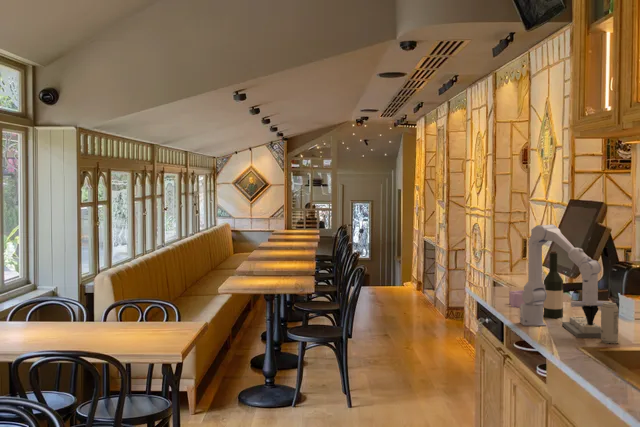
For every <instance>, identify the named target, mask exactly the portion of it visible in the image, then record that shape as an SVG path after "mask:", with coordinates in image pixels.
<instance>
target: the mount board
mask: <svg viewBox="0 0 640 427" xmlns="http://www.w3.org/2000/svg"><path fill="white" fill-rule="evenodd" d="M575 317H576V316H569V321H562V322H561V325H562V327H563V326H564V327H563V328H564V329H565V330H567V331H568V332H569V333H571V334H572V335H574V336H575V337H576V338H578V339H579V338H582V339H583V338H585V339H587V338H588V339H589V338H591V339H592V338H595V339H601V325H598V324H597V323H596V322H594V321H593V324H594V325H595V327H585V324H587V323H580V322H579V321H580V320H587V319H586V316H583V317H584V318H585V319H574V318H575Z"/></svg>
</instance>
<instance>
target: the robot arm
mask: <svg viewBox="0 0 640 427" xmlns="http://www.w3.org/2000/svg"><path fill="white" fill-rule="evenodd" d="M530 230H531V233H530V236H529V240H528V273H527V275H528V277H527V278H528V281H527V282H526V284H524V286H523V290H524V291H523V293H522V298H523V301H524V302H525V304H521V305H520V308H519V317H520V318H519V323H521V325H522V326H536V327H537V326H538V327H539V326H540V327H541V326H542V327H543V326H546V325H547V324H546V323H545V322H544V308H543V303H544V301H545V300H546V298H547V293H546V290H545V285H544V282H543V280H542V277H543V274H542V273H543V271H542V270H543V246H544V245H545V244H546V243H547V242H554V243H555V244H556V245H558V246H559V247H560V248H561V249H562V250H564V251H565V252H566V253H567V254H568V255H567V256H568V259H570V261H571V262H572V263H573V264H575V265H576V266H577V267H578V269H579V270H578V271H579V273H580V274H581V279H582V284H581V285H582V290H581V291H582V294H581V296H582V300H579V301H578V300H577V301H576V300H574V301H572V300H571V301H570V307H571V308H576V307H577V308H579V307H581V308H582V311H583V313H584V317H586V319H587V324H588V325H593V322H594V320H595V316H596V315H597V313H598V311H599V308H601V307H602V305H603V303H604V302H609V301H603V300H599V299H598V298H599V296H598V295H599V294H598V293H599V290H598V289H599V278H598V277H599V276H598V275H599V274H600V272H601V270H602V266H601V264H600V263H599V261H598V260H596V259H592V258H591V257H590V256H588V255H587V254H586V253H585V252H584V249H583V248H580V247H574V245H573V244H572V243H571V242H570V241H569V239H567V238H566V236H564V235H563V234H562V231H561V229H560V228H559V227H557V225H556V224H553V223H551V224H550V223H549V224H543V225H539V224H537V225H535V226H534V227H533V228H531V229H530Z"/></svg>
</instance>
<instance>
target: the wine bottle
mask: <svg viewBox="0 0 640 427" xmlns="http://www.w3.org/2000/svg"><path fill="white" fill-rule="evenodd" d="M548 257H549V263H548V264H549V271H548V273H547V275H546V276H545V278H544V279H543V284H544V285H545V290H546V293H547V298H546V300H545V301H544V308H543V318H547V319H562V318H564V280H563V278H562V276H561V275H560V273H559V272H558V253H557V251H555V250H551V251H550V253H549V256H548Z"/></svg>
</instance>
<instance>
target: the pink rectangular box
mask: <svg viewBox="0 0 640 427" xmlns="http://www.w3.org/2000/svg"><path fill="white" fill-rule="evenodd" d="M523 291H524V289H523V290H510V291H509V292H508V294H509V299H508V300H509V306H510V308H519V309H520V305H521V304H525V302H524V301H523V298H522V293H523ZM543 309H544V303H543Z"/></svg>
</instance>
